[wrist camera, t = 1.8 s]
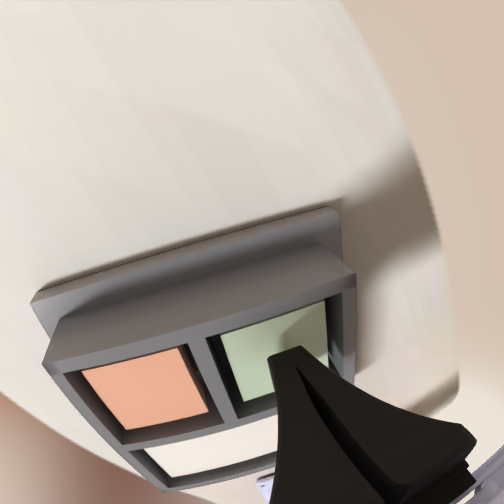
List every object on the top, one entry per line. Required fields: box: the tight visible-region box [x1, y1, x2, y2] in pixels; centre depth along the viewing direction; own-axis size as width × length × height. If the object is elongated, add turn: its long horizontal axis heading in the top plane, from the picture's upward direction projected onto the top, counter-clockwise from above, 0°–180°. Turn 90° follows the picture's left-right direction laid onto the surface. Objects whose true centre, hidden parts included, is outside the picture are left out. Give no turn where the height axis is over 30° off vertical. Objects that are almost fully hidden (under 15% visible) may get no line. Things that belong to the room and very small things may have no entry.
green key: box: [220, 299, 328, 401], centre depth 13 cm, size 4×4×2 cm
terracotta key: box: [81, 344, 209, 430], centre depth 12 cm, size 4×4×2 cm
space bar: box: [144, 414, 278, 477], centre depth 14 cm, size 4×10×2 cm, turn 102°
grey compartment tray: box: [30, 206, 356, 493], centre depth 14 cm, size 14×14×4 cm
